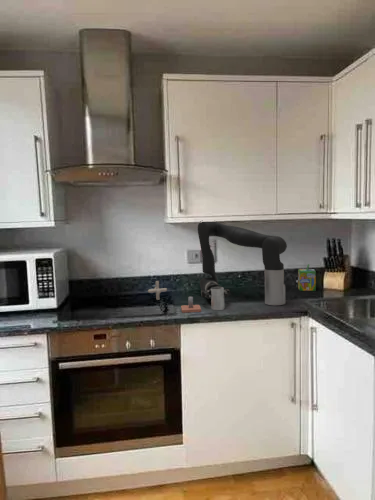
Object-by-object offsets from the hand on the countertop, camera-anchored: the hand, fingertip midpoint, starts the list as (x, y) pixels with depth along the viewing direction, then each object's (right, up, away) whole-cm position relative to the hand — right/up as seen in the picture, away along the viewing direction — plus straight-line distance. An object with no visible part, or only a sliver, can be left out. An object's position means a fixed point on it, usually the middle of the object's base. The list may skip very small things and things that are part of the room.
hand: (217, 296), depth 179 cm
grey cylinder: (0, -6, 0) cm, 6 cm away
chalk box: (+55, -1, +37) cm, 66 cm away
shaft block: (-13, -7, -1) cm, 14 cm away
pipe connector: (-31, -5, +24) cm, 39 cm away
